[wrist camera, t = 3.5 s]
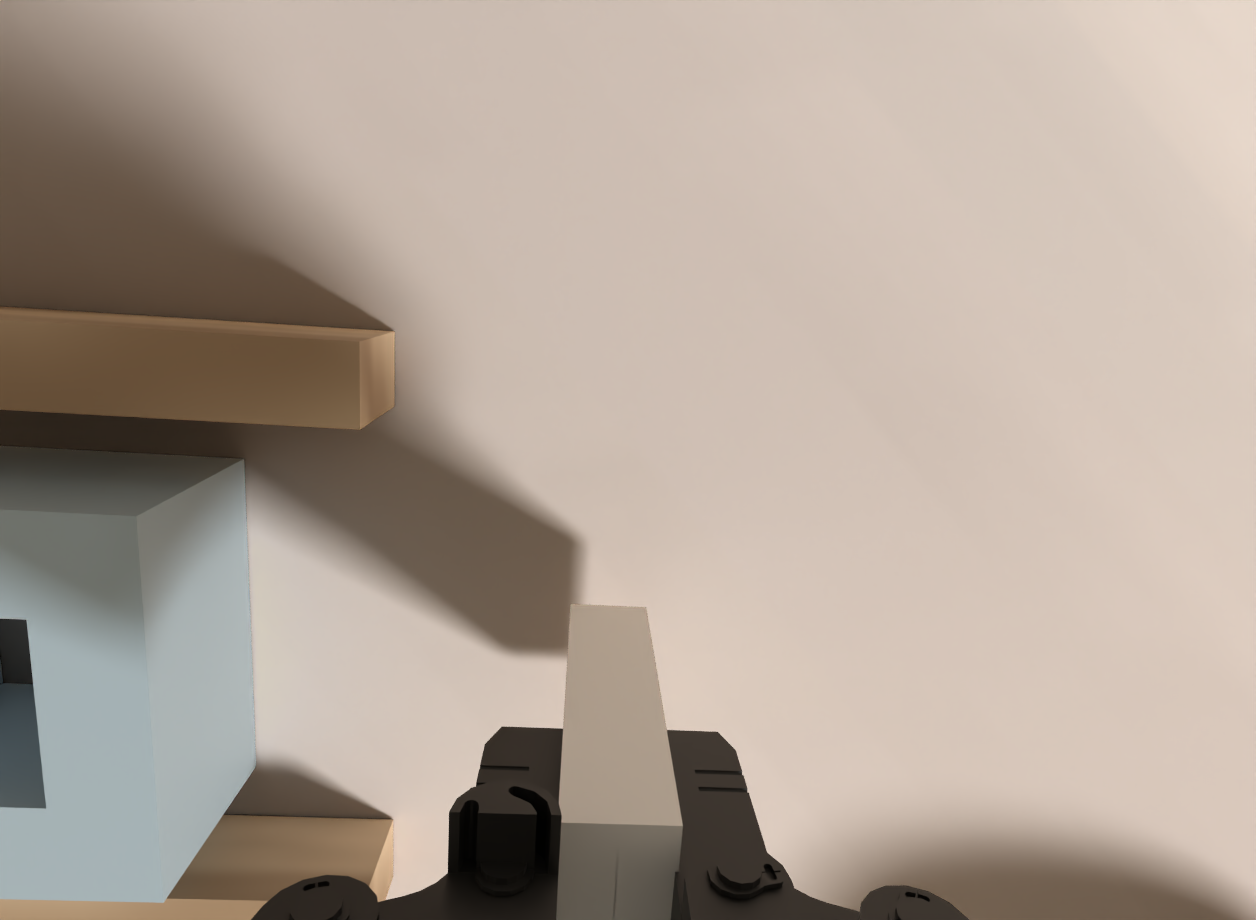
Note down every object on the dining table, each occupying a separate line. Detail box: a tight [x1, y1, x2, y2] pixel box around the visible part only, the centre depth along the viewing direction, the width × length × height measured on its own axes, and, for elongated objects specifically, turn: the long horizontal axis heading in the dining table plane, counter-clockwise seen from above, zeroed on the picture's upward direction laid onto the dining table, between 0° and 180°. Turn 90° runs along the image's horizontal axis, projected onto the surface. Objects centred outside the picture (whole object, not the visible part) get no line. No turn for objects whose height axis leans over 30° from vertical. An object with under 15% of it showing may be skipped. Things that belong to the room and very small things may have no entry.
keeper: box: [0, 446, 256, 903], centre depth 15 cm, size 7×7×4 cm
